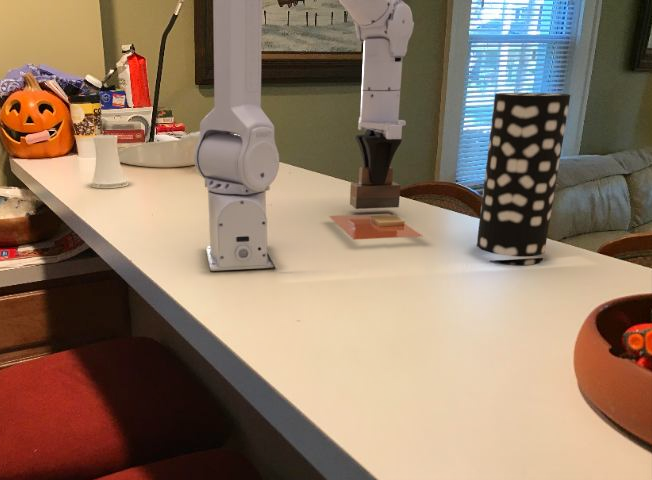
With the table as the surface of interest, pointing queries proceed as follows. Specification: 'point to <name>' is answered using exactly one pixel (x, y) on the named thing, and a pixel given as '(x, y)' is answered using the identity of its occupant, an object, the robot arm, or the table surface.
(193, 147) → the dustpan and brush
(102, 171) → the vase
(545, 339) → the table surface
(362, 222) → the tile
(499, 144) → the white-spotted black cylinder
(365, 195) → the brown stepped wooden block
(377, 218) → the bread slice
